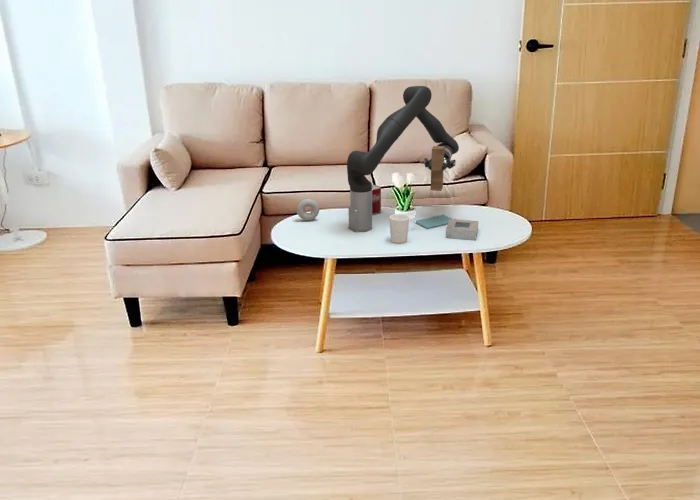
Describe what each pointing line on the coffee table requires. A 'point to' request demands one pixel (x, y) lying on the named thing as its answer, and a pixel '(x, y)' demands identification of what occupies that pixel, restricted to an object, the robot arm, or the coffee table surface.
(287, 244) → the coffee table surface
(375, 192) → the soda can
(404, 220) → the beige cup
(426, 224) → the slate mat
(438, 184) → the walnut post
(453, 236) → the socket block
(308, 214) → the donut
